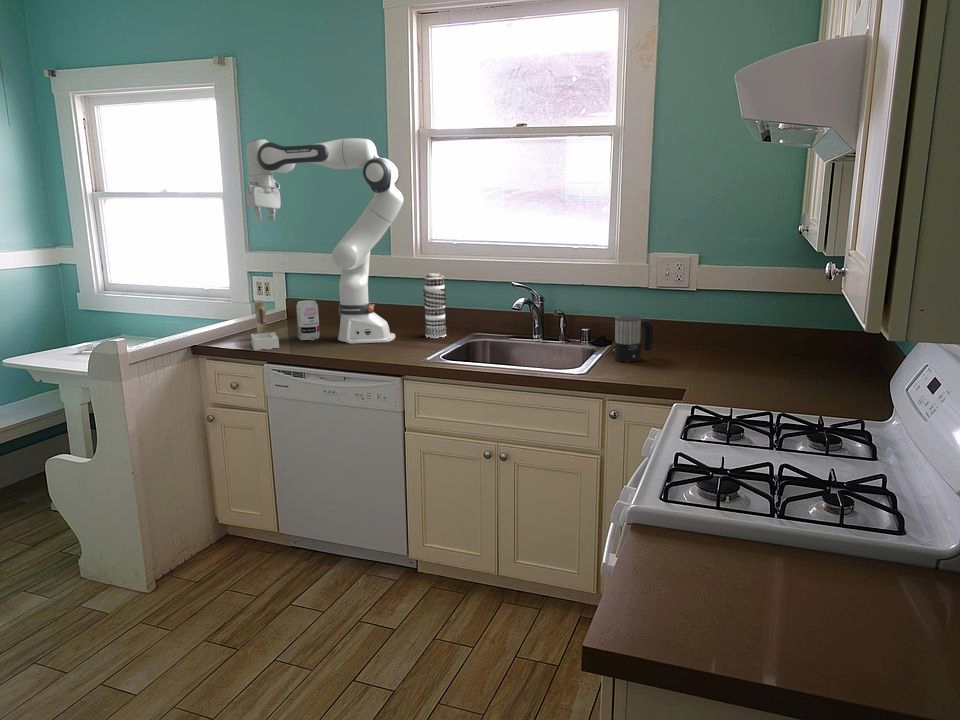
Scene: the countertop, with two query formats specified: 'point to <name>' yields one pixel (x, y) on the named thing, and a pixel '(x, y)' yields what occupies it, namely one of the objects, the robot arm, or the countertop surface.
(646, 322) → the milk frother
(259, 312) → the beige wooden block
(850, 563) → the countertop surface
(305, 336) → the supplement can
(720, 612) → the countertop surface
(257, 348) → the white rectangular tray
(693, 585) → the countertop surface
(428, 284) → the decorative candle
